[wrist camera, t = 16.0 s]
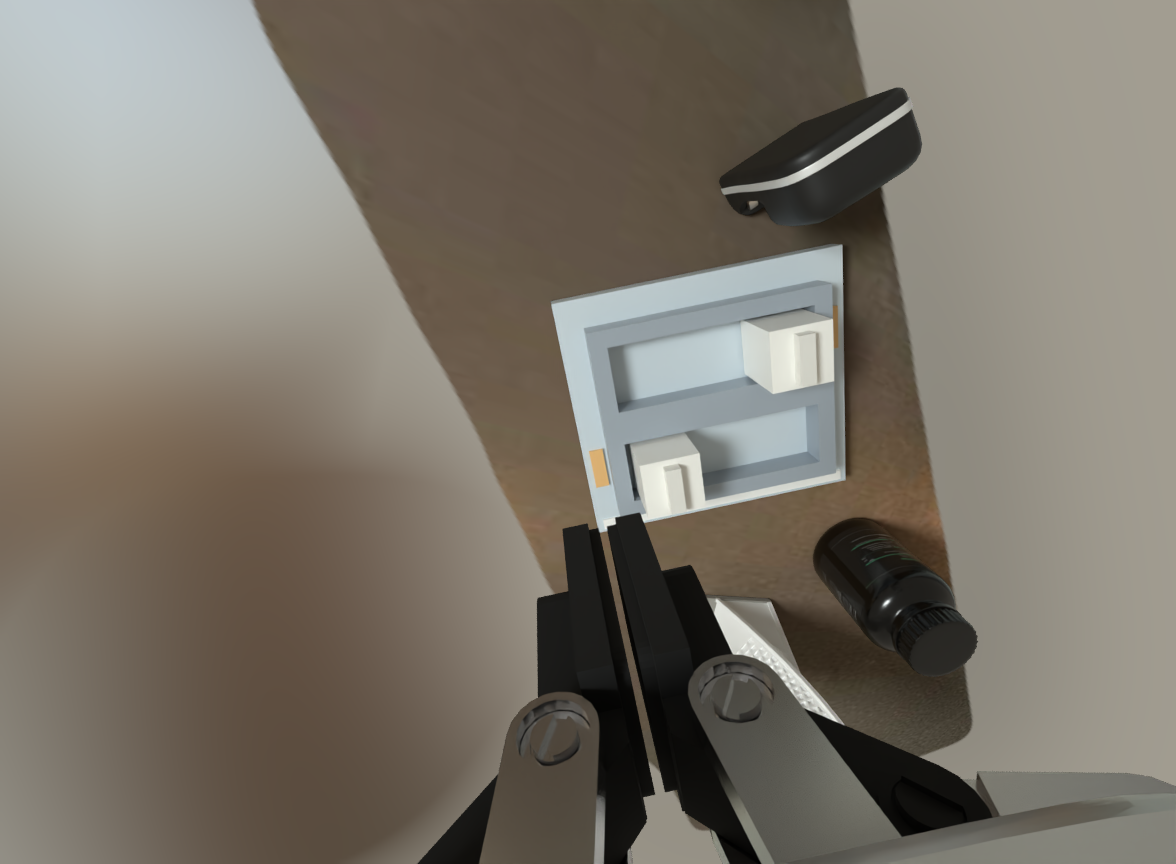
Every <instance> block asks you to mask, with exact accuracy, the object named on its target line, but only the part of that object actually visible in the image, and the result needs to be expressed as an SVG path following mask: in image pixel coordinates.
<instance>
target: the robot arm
mask: <svg viewBox="0 0 1176 864" xmlns="http://www.w3.org/2000/svg"><path fill="white" fill-rule="evenodd" d="M615 521H616V524H615V525H610V526H607V531H608V536H609V541H610V546H611V551H612V556H613V560H614V565H615V570H616V575H617V580H618V585H619V590H620V595H621V600H622V605H623V610H624V614H625V619H626V624H627V629H628V634H629V638H630V643H631V647H632V651H633V656H634V660H635V664H636V669H637V673H638V677H639V682H640V686H641V690H642V695H643V699H644V703H645V708H646V712H647V716H648V721H649V725H650V729H651V733H652V738H653V742H654V746H655V751H656V755H657V759H658V764H659V768H660V772H661V777H662V780H663V785H664V789H665V792H669V791H673V790H677V792H678V796H679V800H680V804H681V807H682V811H685V813H686V814H688V815H689V816H691V817H692V818H694V819H695V820H697V821H699V822H700V823H702V824H703V825H705V826H706V827H708V828H709V829H710V833H711V836H712V840H713V843H714V846H715V848H716V850H717V852H718V855H719V857H720V859H721V861H722V864H1176V786H1174V785H1171V784H1168V783H1166V782H1163V781H1160V780H1158V779H1155V778H1153V777H1149V776H1143V775H1136V774H1130V773H1072V772H986V771H978V772H977V779H976V780H962V779H960V777H958V776H957V775H955V774H953V773H952V772H950V771H948V770H946V769H944V768H943V767H940V766H939V765H937V764H934V763H932V762H930V761H927V760H925V759H922V758H920V757H918V756H915V755H913V754H911V753H908V752H906V751H904V750H901V749H899V748H897V747H894V746H892V745H890V744H887V743H885V742H883V741H880V740H878V739H875V738H873V737H871V736H868V735H866V734H864V733H861V732H859V731H857V730H854V729H852V728H850V727H847V726H845V725H843V724H840V723H838V722H836V721H833V720H831V719H828V718H826V717H824V716H821V715H819V714H817V713H814V712H812V711H810V710H807V709H805V708H803V707H802V705H801V704H800V703H799V701H798V700H797V699H796V698H795V696H794V695H793V694H792V692H791V691H790V690H789V688H788V687H787V686H786V684H785V683H784V682H783V680H782V679H781V678H780V677H779V675H778V674H777V673H776V672H775V671H774V670H773V669H772V668H771V667H770V666H769V665H767V664H765V663H763V662H761V661H760V660H758V659H756V658H752V657H749V656H745V655H733V654H732V651H731V649H730V647H729V645H728V643H727V641H726V638H725V636H724V634H723V632H722V630H721V628H720V625H719V623H718V621H717V619H716V617H715V615H714V612H713V610H712V608H711V606H710V604H709V602H708V599H707V597H706V595H705V593H704V591H703V589H702V586H701V584H700V582H699V580H698V578H697V576H696V573H695V571H694V569H693V568H692V566H691V565H688V566H683V567H678V568H674V569H669V570H665V571H661V568H660V565H659V563H658V560H657V557H656V554H655V552H654V549H653V546H652V544H651V541H650V538H649V535H648V533H647V530H646V527H645V525H644V522H643V519H642V516H641V514H640V512H639V513H634V514H629V515H625V516H620V517H615ZM563 539H564V550H565V560H566V570H567V581H568V592H563V593H558V594H554V595H549V596H544V597H541V598H538V599H537V643H538V644H537V647H538V648H537V649H538V650H537V652H538V698H536V699H535V700H533V701H531V702H529V703H528V704H527V705H526V706H525V707H523V708H522V709H521V710H520V711H519V712H518V714H517V715H516V717H515V718H514V719H513V720H512V722H511V724H510V727H509V730H508V732H507V736H506V740H505V745H504V749H503V754H502V759H501V763H500V768H499V773H498V775H497V776H496V777H495V778H494V779H493V780H492V781H491V783H490V784H489V785H488V786H487V787H486V788H485V789H484V790H483V791H482V793H481V794H480V795H479V796H478V797H477V798H476V799H475V800H474V802H473V803H472V804H471V805H470V806H469V807H468V808H467V810H465V812H464V813H463V814H462V815H461V816H460V817H459V818H458V819H457V820H456V822H455V823H454V824H453V825H452V826H451V827H450V828H449V829H448V830H447V832H446V833H445V834H444V835H443V836H442V837H441V838H440V839H439V840H438V842H437V843H436V844H435V845H434V846H433V847H432V848H431V849H430V850H429V851H428V853H427V854H426V855H425V856H424V857H423V858H422V859H421V860H420V862H419V863H418V864H633V858H632V853H631V846H632V844H633V843H634V841H635V839H636V838H637V836H638V835H639V833H640V831H641V830H642V828H643V827H644V825H645V824H646V820H647V815H646V810H645V805H644V800H643V797H647V796H651V795H655V792H654V787H653V782H652V777H651V773H650V768H649V763H648V758H647V753H646V749H645V744H644V739H643V734H642V730H641V725H640V720H639V715H638V711H637V706H636V701H635V696H634V691H633V687H632V682H631V677H630V672H629V668H628V663H627V658H626V654H625V649H624V644H623V640H622V635H621V630H620V626H619V621H618V616H617V611H616V607H615V602H614V597H613V593H612V588H611V583H610V579H609V574H608V569H607V565H606V560H605V555H604V551H603V546H602V541H601V537H600V532H599V528H596V529H592V530H589V528H588V524H583V525H578V526H573V527H569V528H564V529H563Z"/></svg>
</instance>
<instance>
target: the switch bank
mask: <svg viewBox="0 0 1176 864" xmlns="http://www.w3.org/2000/svg"><path fill="white" fill-rule="evenodd" d="M551 305H552V310H553V315H554V320H555V324H556V329H557V334H558V339H559V343H560V348H561V353H562V358H563V363H564V367H565V372H566V377H567V382H568V387H569V391H570V396H571V401H572V406H573V410H574V415H575V420H576V425H577V430H578V434H579V439H580V444H581V449H582V454H583V458H584V463H585V468H586V473H587V477H588V482H589V487H590V492H591V497H592V501H593V506H594V511H595V516H596V521H597V525H598V528H599V532H604V531H607V526H610V525H615V524H616V521H615V517H620V516H625V515H629V514H634V513H639V512H640V514H641V516H642V519H643V522H644V523H646V522H651V521H655V520H660V519H665V518H669V517H674V516H679V515H683V514H688V513H693V512H697V511H702V510H707V509H712V508H716V507H721V506H726V505H730V504H735V503H740V502H744V501H749V500H754V499H758V498H763V497H768V496H772V495H777V494H782V493H786V492H791V491H796V490H801V489H805V488H810V487H815V486H819V485H824V484H829V483H833V482H838V481H843V480H845V404H844V328H843V252H842V245H840V244H828V245H823V246H818V247H813V248H809V249H804V250H799V251H794V252H789V253H784V254H779V255H774V256H769V257H765V258H760V259H755V260H750V261H745V262H740V263H735V264H730V265H725V266H721V267H716V268H711V269H706V270H701V271H696V272H691V273H686V274H681V275H677V276H672V277H667V278H662V279H657V280H652V281H647V282H642V283H637V284H633V285H628V286H623V287H618V288H613V289H608V290H603V291H598V292H593V293H589V294H584V295H579V296H574V297H569V298H564V299H559V300H554V301H551ZM799 308H801V309H804V310H807V311H810V312H813V313H816V314H819V315H822V316H825V317H829V318H832V319H833V341H834V381H833V382H828V383H824V384H819V385H814V386H809V387H805V388H800V389H795V390H790V391H785V392H781V393H776V394H772V393H771V392H769V391H768V390H767V389H765V388H764V387H762V386H761V385H760V384H758V383H757V382H755V381H754V380H753V379H751V378H750V377H748V376H747V375H746V374H745V372H744V360H743V348H742V336H741V324H740V321H741V320H746V319H750V318H755V317H760V316H765V315H770V314H775V313H779V312H784V311H789V310H794V309H799ZM682 432H685V434H686V435H687V437H688V438H689V439H690V441H691V442H692V443H693V445H694V446H695V448H696V449H697V450H698V452H699V453H700V461H701V469H702V477H703V486H704V494H705V502H706V506H705V507H700V508H696V509H691V510H687V512H683V513H678V514H673V515H672V514H667V515H663V516H658V517H653V518H649V519H648V516H647V514H646V511H645V509H644V506H643V503H642V501H641V498H640V496H639V493H638V491H637V488H636V485H635V480H634V474H633V468H632V462H631V457H630V451H629V445H628V444H630V443H635V442H639V441H644V440H649V439H654V438H658V437H663V436H668V435H673V434H677V433H682Z"/></svg>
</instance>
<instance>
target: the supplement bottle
mask: <svg viewBox="0 0 1176 864" xmlns="http://www.w3.org/2000/svg"><path fill="white" fill-rule="evenodd" d="M813 564H814V568H815V571H816V573H817V574H818V576H819V577H820V579H821V580H822V581H823V583H824V584H825V585H826V586H827V588H828V589H829V590H830V591H831V593H832V594H833V595H834V596H835V598H836V599H837V600H838V601H839V603H840V604H841V605H842V606H843V607H844V609H845V610H846V611H847V612H848V614H849V615H850V616H851V617H852V619H853V620H854V621H855V622H856V624H857V625H858V626H859V627H860V629H861V630H862V631H863V632H864V633H865V635H866V636H867V637H868V638H869V639H870V640H871V641H872V642H873V643H874V644H875V645H877V646H879V647H881V648H883V649H885V650H888V651H892V652H897V653H898V654H899V655H900V657H902V658H903V659H904V660H905V661H906V662H907V663H908V664H909V665H910V666H911V668H912V669H913V670H915V671H916V672H917V673H919V674H922V675H923V676H929V677H931V676H934V677H937V676H943V675H945V674H949V673H951V672H953V671H955V670H957V669H958V668H960V667H962V665H963V664H965V663H966V662H967V661H968V660H969V659H970V658H971V656H972V654H973V653H974V652H975V649H976V647H977V646H976V644H977V642H978V641H977V635H976V631H975V630H974V628H973V627H972V625H970V623H968V622H967V621H966V620H965V619H964V618H963V617H962V616H961V614H960V613H959V612H958V611H957V610H956V604H955V599H954V595H953V593H952V590H951V589H950V587H949V586H948V584H947V583H946V582H945V581H944V580H943V579H942V578H941V577H939V576H938V575H937V574H936V573H935V572H934V571H933V570H931V569H930V568H929V567H928V566H927V565H926V564H924V563H923V562H922V561H921V560H920V559H919V558H918V557H916V556H915V555H914V554H913V553H912V552H911V551H910V550H908V549H907V548H906V547H905V546H904V545H903V544H902V543H900V542H899V541H898V540H897V539H896V538H895V537H893V536H892V535H891V534H890V533H889V532H888V531H886V530H885V529H884V528H883V527H882V526H880V525H879V524H877V523H875V522H873V521H870V520H867V519H850V520H846V521H843V522H840V523H838V524H836V525H834V526H833V527H831V528H830V529H829V530H827V531H826V532H825V533H824V534H823V535H822V537H821V538H820V539H819V541H818V543H817V545H816V547H815V550H814V554H813Z"/></svg>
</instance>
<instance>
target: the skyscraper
mask: <svg viewBox="0 0 1176 864" xmlns="http://www.w3.org/2000/svg"><path fill="white" fill-rule="evenodd" d="M706 597H707V599H708V602H709V604H710V606H711V608H712V610H713V612H714V615H715V617H716V619H717V621H718V623H719V625H720V628H721V630H722V632H723V634H724V636H725V638H726V641H727V643H728V645H729V647H730V649H731V651H732V654H733V655H745V656H749V657H752V658H756V659H758V660H760V661H761V662H763V663H765V664H767V665H769V666H770V667H771V668H772V669H773V670H774V671H775V672H776V673H777V674H778V675H779V677H780V678H781V679H782V680H783V682H784V683H785V684H786V686H787V687H788V688H789V690H790V691H791V692H792V694H793V695H794V696H795V698H796V699H797V700H798V701H799V703H800V704H801V705H802V707H803V708H805V709H807V710H810V711H812V712H814V713H817V714H819V715H821V716H824V717H826V718H828V719H831V720H833V721H836V722H838V723H840V724H843V725H844V723H843V722H842V721H841V720H840V718H839V717H838V716H837V715H836V713H835V712H834V711H833V710H832V709H831V707H830V706H829V705H828V704H827V703H826V701H825V700H824V699H823V698H822V697H821V695H820V694H819V693H818V692H817V691H816V690H815V689H814V688H813V687H812V685H811V684H810V683H809V682H808V681H807V680H806V679H805V678H804V677H803V676H802V675H801V673H800V671H799V668H798V666H797V663H796V661H795V658H794V656H793V653H792V651H791V648H790V646H789V644H788V641H787V639H786V636H785V634H784V632H783V629H782V627H781V624H780V622H779V619H778V617H777V615H776V612H775V610H774V607H773V605H772V603H771V601H770V599H767V598H750V597H732V596H715V595H706Z"/></svg>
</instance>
